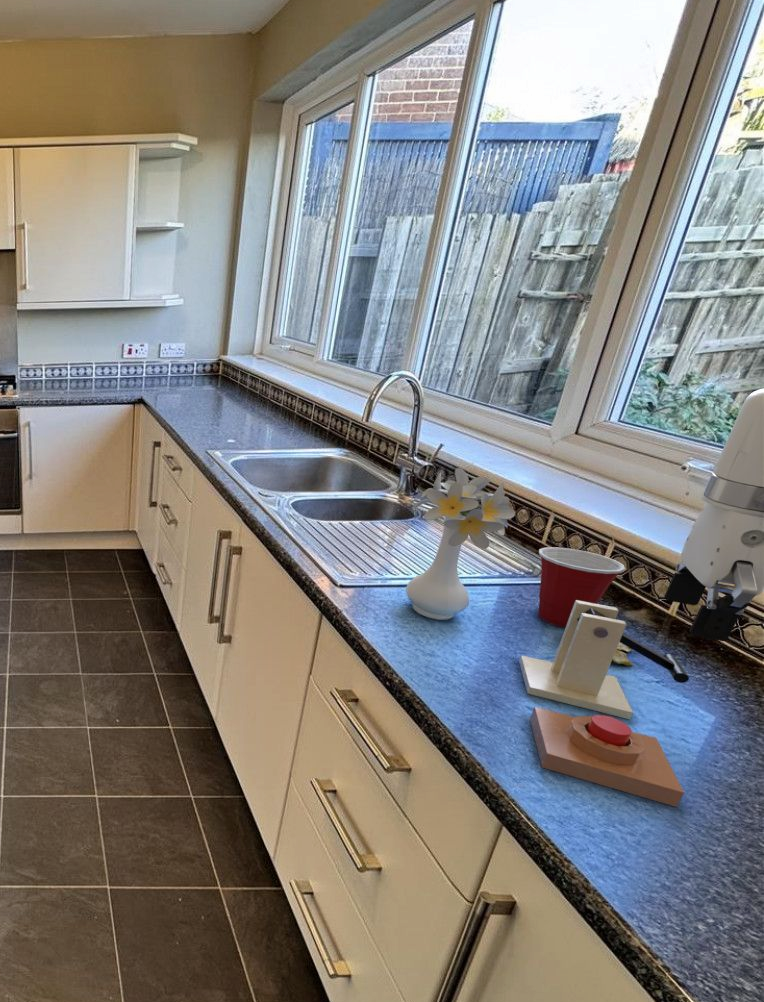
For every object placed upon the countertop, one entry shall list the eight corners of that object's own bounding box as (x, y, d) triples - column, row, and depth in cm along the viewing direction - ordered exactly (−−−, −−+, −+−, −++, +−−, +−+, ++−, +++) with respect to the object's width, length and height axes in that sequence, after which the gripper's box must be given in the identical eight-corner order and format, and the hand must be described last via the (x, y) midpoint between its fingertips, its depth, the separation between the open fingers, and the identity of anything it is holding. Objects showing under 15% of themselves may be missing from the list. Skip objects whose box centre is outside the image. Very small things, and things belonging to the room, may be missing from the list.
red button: (622, 732, 75) (627, 720, 75) (630, 750, 73) (635, 739, 72) (584, 722, 77) (588, 710, 76) (590, 739, 74) (595, 728, 74)
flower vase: (413, 637, 102) (449, 495, 92) (380, 585, 118) (408, 460, 109) (503, 647, 99) (551, 501, 89) (456, 592, 115) (492, 464, 106)
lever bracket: (613, 683, 90) (644, 607, 85) (630, 719, 83) (666, 638, 78) (518, 661, 95) (543, 588, 90) (527, 693, 88) (554, 616, 83)
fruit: (632, 670, 92) (641, 650, 91) (560, 650, 98) (567, 630, 96) (631, 647, 98) (639, 627, 97) (563, 628, 103) (570, 609, 102)
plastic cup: (589, 611, 108) (612, 549, 104) (610, 642, 99) (637, 576, 95) (513, 598, 113) (532, 538, 108) (526, 627, 104) (548, 563, 100)
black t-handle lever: (666, 667, 84) (682, 656, 83) (678, 687, 80) (696, 675, 79) (574, 614, 88) (588, 603, 87) (581, 631, 84) (596, 619, 83)
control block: (650, 751, 77) (662, 726, 76) (677, 807, 69) (690, 780, 68) (529, 719, 83) (538, 695, 82) (541, 767, 75) (551, 741, 74)
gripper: (839, 525, 64) (764, 662, 71) (764, 479, 78) (708, 597, 84) (737, 512, 68) (675, 643, 74) (683, 470, 82) (634, 583, 88)
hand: (692, 618), depth 79 cm, fingers open, 9 cm apart
